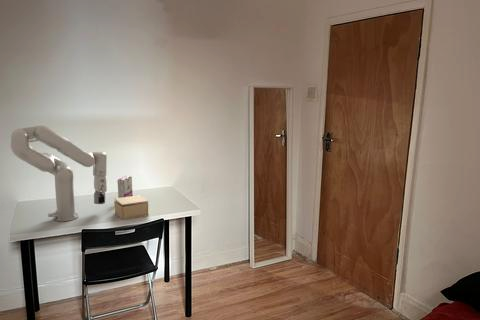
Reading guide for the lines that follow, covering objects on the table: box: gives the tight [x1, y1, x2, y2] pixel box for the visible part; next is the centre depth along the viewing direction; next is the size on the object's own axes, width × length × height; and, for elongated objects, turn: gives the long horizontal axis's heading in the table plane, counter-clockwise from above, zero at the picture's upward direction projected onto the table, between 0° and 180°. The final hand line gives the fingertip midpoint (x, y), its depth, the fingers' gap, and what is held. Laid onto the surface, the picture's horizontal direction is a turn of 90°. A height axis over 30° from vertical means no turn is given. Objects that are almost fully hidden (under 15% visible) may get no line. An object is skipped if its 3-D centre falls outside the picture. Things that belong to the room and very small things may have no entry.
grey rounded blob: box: [93, 191, 106, 205], centre depth 225 cm, size 6×6×6 cm
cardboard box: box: [114, 200, 149, 221], centre depth 226 cm, size 16×13×8 cm
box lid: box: [114, 194, 149, 206], centre depth 225 cm, size 16×13×1 cm
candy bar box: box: [116, 175, 134, 198], centre depth 249 cm, size 11×5×16 cm, turn 168°
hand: (99, 201), depth 226 cm, fingers closed on grey rounded blob, 6 cm apart
